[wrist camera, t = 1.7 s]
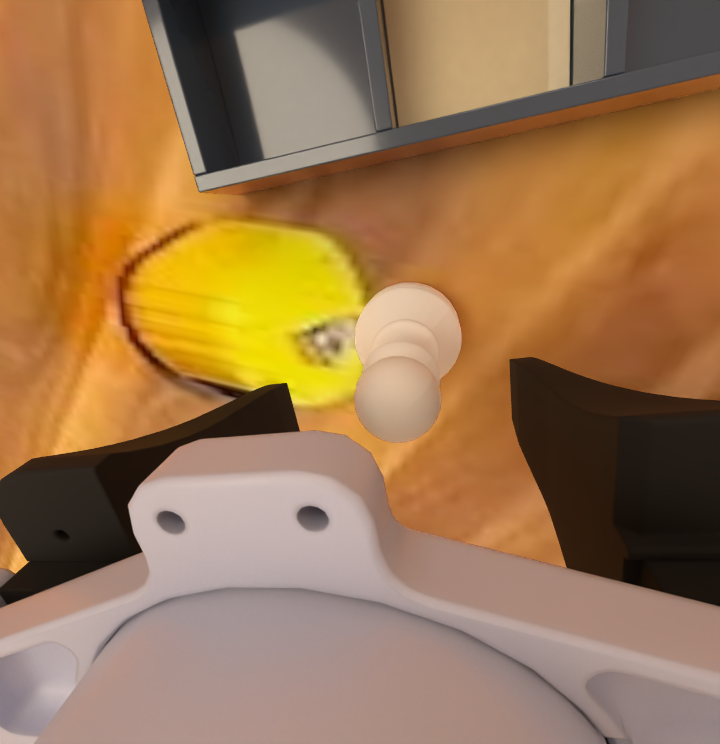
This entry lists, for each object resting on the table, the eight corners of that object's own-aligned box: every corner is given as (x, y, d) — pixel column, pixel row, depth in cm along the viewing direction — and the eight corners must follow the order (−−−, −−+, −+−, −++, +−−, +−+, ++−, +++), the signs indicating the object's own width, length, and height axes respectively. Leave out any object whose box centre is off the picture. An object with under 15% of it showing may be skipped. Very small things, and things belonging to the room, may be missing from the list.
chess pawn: (400, 394, 21) (382, 512, 13) (339, 323, 20) (278, 402, 12) (480, 339, 19) (517, 437, 11) (418, 258, 18) (408, 301, 10)
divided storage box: (802, 70, 14) (921, 27, 11) (240, 195, 19) (198, 192, 15) (862, -253, 11) (1049, -451, 8) (185, -11, 16) (120, -69, 13)
